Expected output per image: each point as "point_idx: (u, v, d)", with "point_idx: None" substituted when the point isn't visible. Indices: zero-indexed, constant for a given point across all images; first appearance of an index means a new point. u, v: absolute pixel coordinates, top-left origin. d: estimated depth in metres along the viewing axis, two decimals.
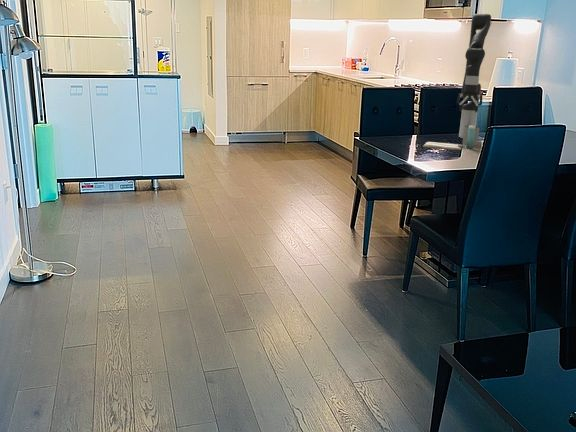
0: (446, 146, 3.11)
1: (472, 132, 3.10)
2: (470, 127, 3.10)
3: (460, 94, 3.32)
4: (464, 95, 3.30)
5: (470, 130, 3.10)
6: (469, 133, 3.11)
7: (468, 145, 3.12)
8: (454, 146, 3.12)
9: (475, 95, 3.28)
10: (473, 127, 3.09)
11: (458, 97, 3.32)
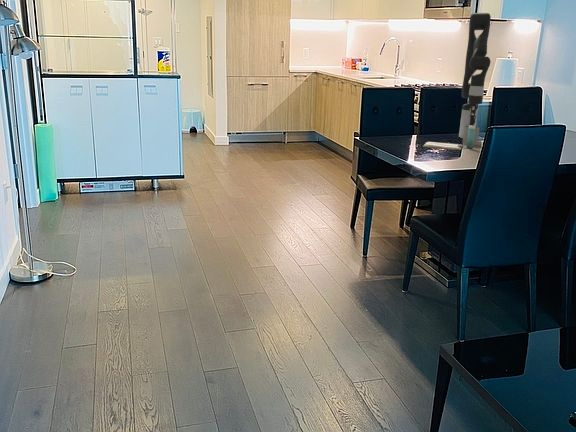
0: (446, 146, 3.11)
1: (472, 132, 3.10)
2: (470, 127, 3.10)
3: None
4: (476, 107, 3.04)
5: (470, 130, 3.10)
6: (469, 133, 3.11)
7: (468, 145, 3.12)
8: (454, 146, 3.12)
9: None
10: (473, 127, 3.09)
11: (475, 110, 3.02)
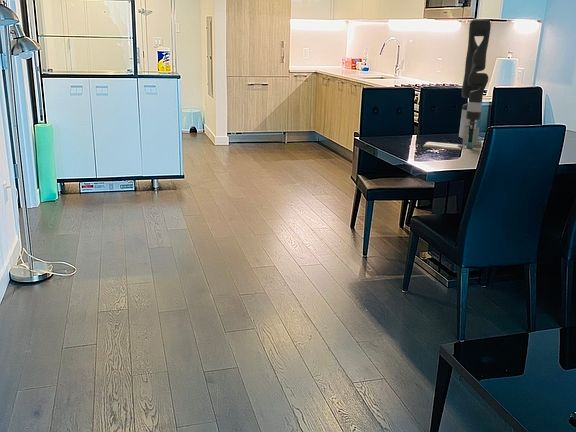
0: (446, 146, 3.11)
1: None
2: None
3: None
4: (473, 125, 3.07)
5: None
6: None
7: (468, 145, 3.12)
8: (454, 146, 3.12)
9: None
10: None
11: (473, 128, 3.06)
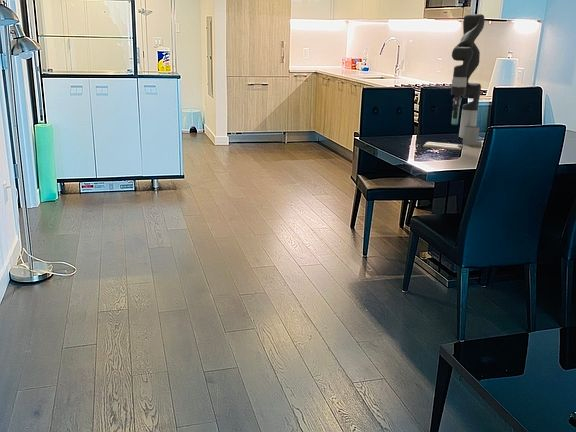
0: (446, 146, 3.11)
1: None
2: None
3: None
4: (458, 100, 3.01)
5: None
6: None
7: (453, 121, 3.06)
8: (454, 146, 3.12)
9: None
10: None
11: None
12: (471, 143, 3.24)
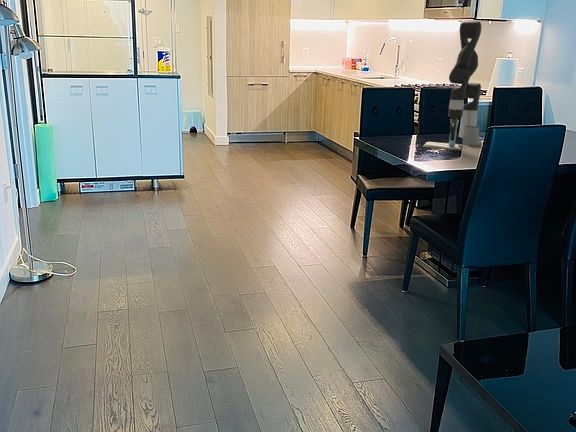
0: (446, 146, 3.11)
1: None
2: None
3: (454, 123, 3.03)
4: (455, 123, 3.05)
5: None
6: None
7: (450, 143, 3.10)
8: (454, 146, 3.12)
9: (457, 119, 3.10)
10: None
11: (455, 126, 3.03)
12: (471, 143, 3.24)
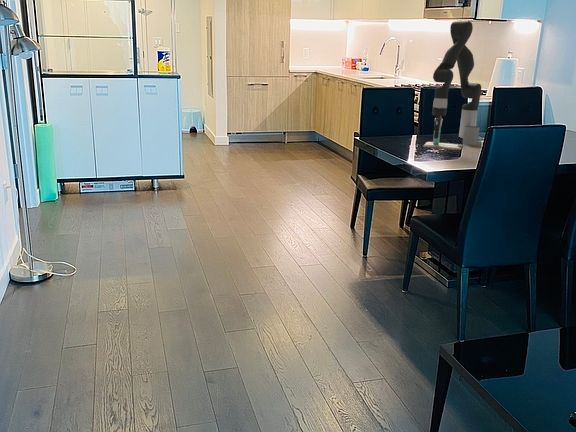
0: (446, 146, 3.11)
1: None
2: None
3: (437, 121, 3.07)
4: (439, 121, 3.09)
5: None
6: None
7: (434, 141, 3.15)
8: (454, 146, 3.12)
9: (441, 117, 3.15)
10: None
11: (438, 124, 3.08)
12: (471, 143, 3.24)
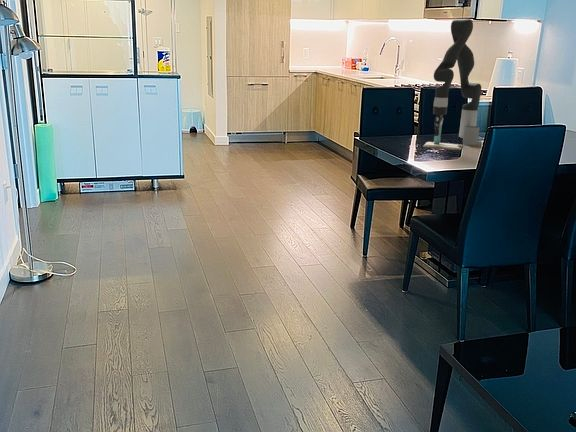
0: (446, 146, 3.11)
1: None
2: None
3: None
4: (440, 118, 3.12)
5: None
6: None
7: (435, 140, 3.18)
8: (454, 146, 3.12)
9: None
10: None
11: (439, 121, 3.09)
12: (471, 143, 3.24)
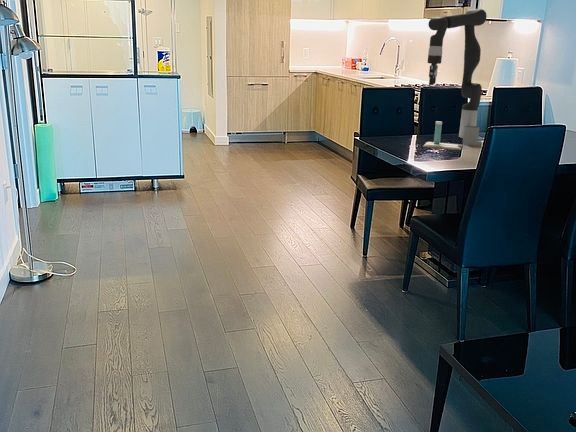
0: (446, 146, 3.11)
1: (439, 128, 3.15)
2: (437, 123, 3.15)
3: None
4: (435, 67, 3.14)
5: (437, 126, 3.15)
6: (436, 129, 3.16)
7: (435, 140, 3.18)
8: (454, 146, 3.12)
9: (436, 66, 3.20)
10: (440, 123, 3.14)
11: (434, 69, 3.12)
12: (471, 143, 3.24)
